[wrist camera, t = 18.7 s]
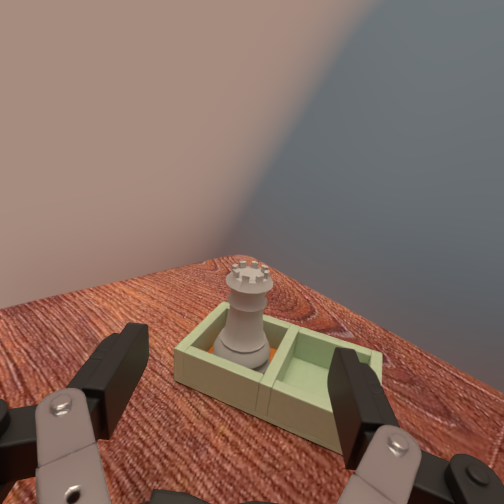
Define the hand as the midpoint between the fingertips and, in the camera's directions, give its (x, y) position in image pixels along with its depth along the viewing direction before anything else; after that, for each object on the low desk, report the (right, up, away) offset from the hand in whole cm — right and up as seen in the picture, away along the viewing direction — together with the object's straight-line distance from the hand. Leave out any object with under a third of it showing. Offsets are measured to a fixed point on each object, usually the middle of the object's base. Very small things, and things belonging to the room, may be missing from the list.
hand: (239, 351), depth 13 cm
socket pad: (+2, -5, +10) cm, 11 cm away
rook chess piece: (0, -4, +10) cm, 11 cm away
